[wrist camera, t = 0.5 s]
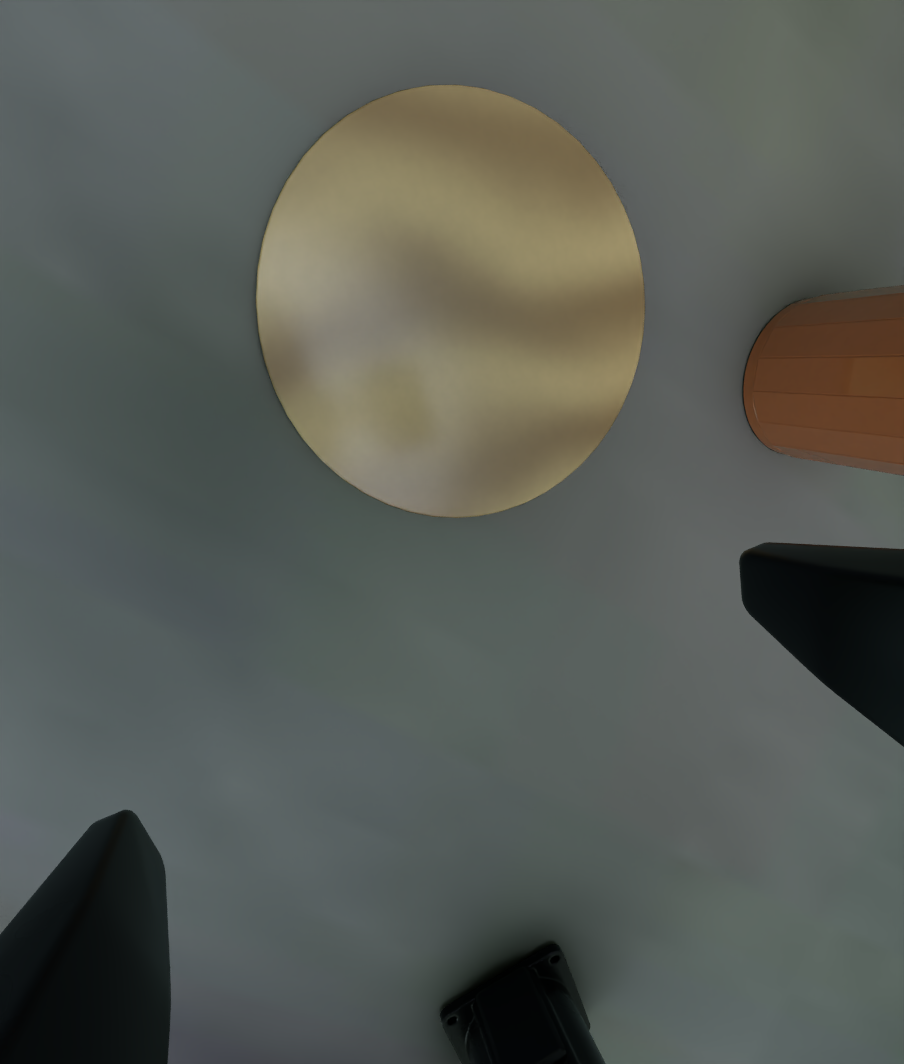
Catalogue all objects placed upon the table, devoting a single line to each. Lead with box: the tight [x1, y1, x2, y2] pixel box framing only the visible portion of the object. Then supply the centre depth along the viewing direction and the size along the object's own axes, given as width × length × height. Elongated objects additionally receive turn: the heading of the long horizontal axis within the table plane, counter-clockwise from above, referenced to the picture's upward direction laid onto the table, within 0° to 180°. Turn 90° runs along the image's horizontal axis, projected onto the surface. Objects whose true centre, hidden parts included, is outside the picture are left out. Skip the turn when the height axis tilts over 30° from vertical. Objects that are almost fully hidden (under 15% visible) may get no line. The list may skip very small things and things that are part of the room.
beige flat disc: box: [256, 85, 645, 518], centre depth 21 cm, size 14×14×1 cm
